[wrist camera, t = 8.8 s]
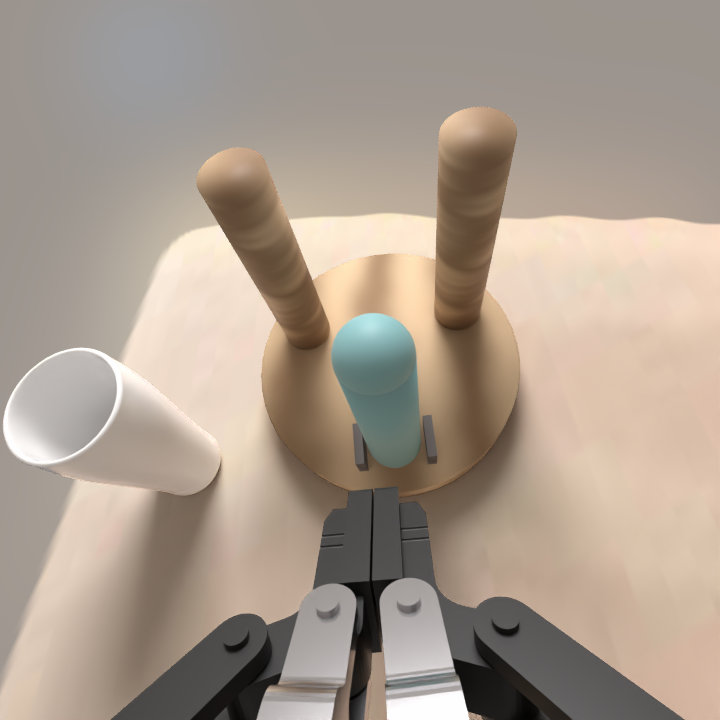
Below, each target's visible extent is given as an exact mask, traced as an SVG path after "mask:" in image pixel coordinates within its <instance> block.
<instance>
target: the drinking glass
mask: <svg viewBox="0 0 720 720" xmlns="http://www.w3.org/2000/svg"><path fill="white" fill-rule="evenodd" d="M3 433H4V438H5V442H6V444H7V446H8V448H9V450H10V451H11V453H12V454H13V455H14V456H15V457H16V458H17V459H19V460H20V461H22V462H23V463H25V464H28V465H30V466H34V467H37V468H40V469H42V470H45V471H48V472H51V473H54V474H58V475H61V476H65V477H69V478H73V479H77V480H82V481H87V482H92V483H99V484H107V485H115V486H123V487H131V488H139V489H147V490H155V491H162V492H167V493H171V494H174V495H180V496H185V495H191V494H194V493H197V492H199V491H201V490H202V489H204V488H205V487H206V486H208V485H209V484H210V483H211V481H212V480H213V479H214V477H215V476H216V474H217V472H218V470H219V466H220V461H221V453H220V448H219V445H218V443H217V441H216V440H215V439H214V437H213V436H212V435H210V434H209V433H208V432H206V431H205V430H203V429H201V428H200V427H199V426H198V425H197V424H196V423H194V422H193V421H192V420H191V419H190V418H189V417H188V416H186V415H185V414H184V413H183V412H182V411H181V410H180V409H179V408H178V407H176V406H175V405H174V404H173V403H172V402H171V401H170V400H169V399H168V398H166V397H165V396H164V395H163V394H162V393H161V392H160V391H159V390H157V389H156V388H155V387H154V386H153V385H152V384H150V383H149V382H148V381H147V380H145V379H144V378H143V377H141V376H140V375H138V374H137V373H135V372H134V371H132V370H131V369H129V368H128V367H126V366H125V365H123V364H121V363H120V362H118V361H116V360H114V359H112V358H111V357H109V356H107V355H106V354H104V353H102V352H100V351H97V350H94V349H88V348H74V349H69V350H64V351H61V352H58V353H56V354H54V355H52V356H50V357H48V358H46V359H44V360H43V361H42V362H40V363H38V364H37V365H36V366H35V367H33V368H32V369H31V370H30V371H29V372H28V373H27V374H26V375H25V376H24V377H23V378H22V380H21V381H20V382H19V383H18V385H17V386H16V388H15V390H14V391H13V393H12V394H11V396H10V399H9V401H8V403H7V406H6V409H5V413H4V419H3Z"/></svg>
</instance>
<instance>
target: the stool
mask: <svg viewBox="0 0 720 720" xmlns="http://www.w3.org/2000/svg"><path fill="white" fill-rule="evenodd" d="M516 137H517V129H516V125H515V123H514V122H513V120H512V119H511V118H510V117H509V116H508V115H507V114H505V113H503V112H501V111H499V110H496V109H493V108H488V107H472V108H467V109H463V110H461V111H458V112H456V113H454V114H453V115H451V116H450V117H449V118H447V120H446V121H445V122H444V123H443V125H442V126H441V128H440V132H439V159H438V196H437V230H436V260H434V259H430V258H426V257H422V256H415V255H407V254H383V255H374V256H369V257H364V258H359V259H356V260H353V261H349V262H346V263H344V264H341V265H339V266H337V267H334V268H332V269H330V270H329V271H327V272H325V273H323V274H322V275H320V276H318V277H317V278H315V279H314V280H313V281H312V278H311V276H310V273H309V271H308V268H307V266H306V263H305V261H304V258H303V255H302V253H301V250H300V248H299V245H298V243H297V240H296V238H295V235H294V233H293V230H292V228H291V225H290V223H289V220H288V218H287V215H286V213H285V210H284V208H283V205H282V202H281V200H280V198H279V195H278V192H277V190H276V187H275V185H274V182H273V180H272V177H271V175H270V172H269V170H268V167H267V165H266V162H265V160H264V158H263V157H262V155H260V154H259V153H258V152H256V151H254V150H252V149H249V148H231V149H227V150H224V151H222V152H219V153H217V154H215V155H214V156H212V157H211V158H210V159H208V161H206V162H205V163H204V165H203V166H202V167H201V169H200V171H199V173H198V175H197V188H198V190H199V192H200V193H201V195H202V196H203V198H204V200H205V202H206V203H207V205H208V207H209V208H210V210H211V212H212V213H213V215H214V216H215V218H216V220H217V222H218V223H219V225H220V227H221V228H222V230H223V232H224V233H225V235H226V237H227V238H228V240H229V242H230V243H231V245H232V247H233V248H234V250H235V252H236V253H237V255H238V257H239V258H240V260H241V262H242V263H243V265H244V266H245V268H246V270H247V271H248V273H249V275H250V276H251V278H252V280H253V281H254V283H255V285H256V286H257V288H258V290H259V291H260V293H261V295H262V296H263V298H264V300H265V301H266V303H267V305H268V306H269V308H270V310H271V311H272V313H273V315H274V316H275V318H276V322H275V324H274V326H273V328H272V330H271V332H270V335H269V338H268V341H267V343H266V347H265V351H264V356H263V361H262V373H261V378H262V392H263V397H264V402H265V406H266V409H267V412H268V415H269V417H270V420H271V422H272V424H273V426H274V428H275V430H276V432H277V433H278V435H279V436H280V438H281V439H282V440H283V442H284V443H285V445H286V446H287V447H288V448H289V449H290V450H291V451H292V453H293V454H294V455H295V456H296V457H297V458H298V459H299V460H301V461H302V462H303V463H304V464H305V465H306V466H307V467H309V468H310V469H311V470H312V471H314V472H315V473H316V474H318V475H319V476H320V477H322V478H323V479H325V480H327V481H329V482H330V483H332V484H334V485H336V486H338V487H341V488H343V489H346V490H348V491H354V490H364V489H373V491H374V488H385V487H396V486H398V490H399V497H406V496H412V495H418V494H422V493H426V492H429V491H432V490H435V489H438V488H440V487H442V486H444V485H446V484H449V483H451V482H453V481H454V480H456V479H457V478H459V477H460V476H462V475H464V474H465V473H467V472H468V471H469V470H470V469H471V468H473V467H474V466H475V465H476V464H477V463H478V462H479V461H481V459H482V458H483V457H484V456H485V455H486V454H487V452H488V451H489V450H490V449H491V448H492V446H493V445H494V443H495V441H496V440H497V438H498V437H499V435H500V434H501V432H502V430H503V428H504V426H505V424H506V422H507V420H508V418H509V416H510V413H511V411H512V409H513V407H514V403H515V399H516V396H517V392H518V386H519V379H520V358H519V352H518V346H517V341H516V338H515V335H514V332H513V329H512V327H511V325H510V323H509V321H508V319H507V317H506V315H505V313H504V311H503V310H502V309H501V307H500V306H499V304H498V303H497V301H496V300H495V299H494V298H493V297H492V296H491V294H490V293H489V292H488V291H487V290H486V289H485V287H486V282H487V277H488V273H489V268H490V263H491V258H492V253H493V248H494V244H495V239H496V234H497V229H498V224H499V219H500V215H501V209H502V205H503V200H504V195H505V190H506V186H507V180H508V176H509V171H510V166H511V161H512V157H513V152H514V146H515V141H516ZM367 313H379V314H384V315H387V316H390V317H392V318H394V319H396V320H398V321H399V322H400V323H402V324H403V325H404V326H405V328H406V329H407V330H408V331H409V332H410V334H411V336H412V338H413V340H414V344H415V348H416V356H417V375H418V393H419V412H420V430H421V446H420V450H419V452H418V454H417V456H416V457H415V459H414V460H413V461H412V462H410V463H409V464H408V465H405V466H403V467H399V468H390V467H386V466H384V465H382V464H380V463H379V462H377V461H376V460H375V459H374V458H373V456H372V455H371V453H370V451H369V449H368V446H367V444H366V442H365V440H364V438H363V435H362V433H361V431H360V429H359V426H358V424H357V422H356V420H355V417H354V415H353V413H352V411H351V408H350V406H349V404H348V402H347V399H346V397H345V395H344V393H343V391H342V388H341V386H340V384H339V382H338V379H337V377H336V375H335V373H334V370H333V367H332V361H331V349H332V346H333V342H334V339H335V337H336V335H337V333H338V332H339V330H340V329H341V328H342V327H343V326H344V325H345V324H346V323H347V322H348V321H350V320H351V319H353V318H355V317H357V316H360V315H363V314H367Z"/></svg>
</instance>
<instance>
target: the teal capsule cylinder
mask: <svg viewBox="0 0 720 720" xmlns="http://www.w3.org/2000/svg"><path fill="white" fill-rule="evenodd" d="M331 361H332V367H333V370H334V373H335V375H336V377H337V379H338V382H339V384H340V386H341V388H342V391H343V393H344V395H345V397H346V399H347V402H348V404H349V406H350V408H351V411H352V413H353V415H354V417H355V420H356V422H357V424H358V426H359V429H360V431H361V433H362V435H363V438H364V440H365V442H366V444H367V446H368V449H369V451H370V453H371V455H372V456H373V458H374V459H375V460H376V461H377V462H379V463H380V464H382V465H384V466H386V467H390V468H399V467H403V466H405V465H408V464H409V463H410V462H412V461H413V460H414V459H415V457H416V456H417V454H418V452H419V450H420V446H421V430H420V412H419V393H418V375H417V356H416V348H415V344H414V340H413V338H412V336H411V334H410V332H409V331H408V330H407V329H406V328H405V326H404V325H403V324H402V323H400V322H399V321H398V320H396V319H394V318H392V317H390V316H387V315H384V314H379V313H367V314H363V315H360V316H357V317H355V318H353V319H351V320H350V321H348V322H347V323H346V324H345V325H344V326H343V327H342V328H341V329H340V330H339V332H338V333H337V335H336V337H335V339H334V342H333V346H332V349H331Z"/></svg>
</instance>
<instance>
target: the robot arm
mask: <svg viewBox="0 0 720 720" xmlns="http://www.w3.org/2000/svg"><path fill="white" fill-rule="evenodd" d="M382 642H383V649H384V661H385V672H386V684H385V693H386V706H387V718H388V720H469V716H468V712H472V713H475V714H478V715H481V716H482V719H483V720H684V719H683V718H681V717H680V716H679V715H677V714H676V713H674V712H673V711H672V710H670V709H669V708H668V707H666V706H665V705H663V704H662V703H661V702H659V701H658V700H656V699H655V698H654V697H652V696H651V695H649V694H648V693H647V692H645V691H644V690H643V689H641V688H640V687H638V686H637V685H636V684H634V683H633V682H631V681H630V680H629V679H627V678H626V677H625V676H623V675H622V674H620V673H619V672H618V671H616V670H615V669H613V668H612V667H611V666H609V665H608V664H607V663H605V662H604V661H602V660H601V659H600V658H598V657H597V656H595V655H594V654H593V653H591V652H590V651H589V650H587V649H586V648H584V647H583V646H582V645H580V644H579V643H577V642H576V641H575V640H573V639H572V638H571V637H569V636H568V635H566V634H565V633H564V632H562V631H561V630H559V629H558V628H557V627H555V626H554V625H553V624H551V623H550V622H548V621H547V620H546V619H544V618H543V617H541V616H540V615H539V614H537V613H536V612H534V611H533V610H532V609H530V608H529V607H528V606H526V605H525V604H523V603H522V602H520V601H518V600H515V599H512V598H508V597H493V598H490V599H487V600H485V601H483V602H482V603H480V604H479V606H478V607H477V608H476V609H475V608H470V607H466V606H462V605H458V604H456V603H454V602H452V601H450V600H448V599H447V598H446V597H445V596H443V595H442V593H441V592H440V591H439V589H438V588H437V585H436V583H435V577H434V570H433V563H432V556H431V548H430V541H429V534H428V527H427V520H426V513H425V511H424V510H423V509H422V508H421V506H420V505H419V504H418V503H417V502H410V503H400V497H399V490H398V486H396V487H385V488H374V491H373V489H364V490H354V491H349V494H348V503H347V508H345V509H333V510H332V512H331V513H330V515H329V516H328V517H327V519H326V520H325V522H324V527H323V533H322V539H321V545H320V551H319V557H318V563H317V569H316V575H315V581H314V587H313V590H312V591H311V592H310V593H309V594H308V595H307V596H306V597H305V598H304V600H303V601H302V603H301V606H300V609H299V611H298V612H296V613H295V614H293V615H292V616H290V617H287V618H285V619H282V620H280V621H277V622H274V623H272V624H269V625H266V623H265V622H264V620H263V619H262V618H261V617H259V616H257V615H254V614H240V615H237V616H234V617H232V618H229V619H228V620H226V621H224V622H223V623H222V624H221V625H219V626H218V627H217V628H216V629H215V630H214V631H213V632H211V633H210V634H209V635H208V636H207V637H206V638H204V639H203V640H202V641H201V642H200V643H199V644H198V645H196V646H195V647H194V648H193V649H192V650H191V651H189V652H188V653H187V654H186V655H185V656H184V657H183V658H181V659H180V660H179V661H178V662H177V663H176V664H174V665H173V666H172V667H171V668H170V669H169V670H168V671H166V672H165V673H164V674H163V675H162V676H161V677H159V678H158V679H157V680H156V681H155V682H154V683H153V684H151V685H150V686H149V687H148V688H147V689H146V690H144V691H143V692H142V693H141V694H140V695H139V696H138V697H136V698H135V699H134V700H133V701H132V702H131V703H129V704H128V705H127V706H126V707H125V708H124V709H123V710H121V711H120V712H119V713H118V714H117V715H116V716H114V717H113V718H112V719H111V720H368V719H369V709H370V698H371V684H372V682H371V677H370V675H371V660H372V653H376V652H382ZM467 711H468V712H467Z"/></svg>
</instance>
